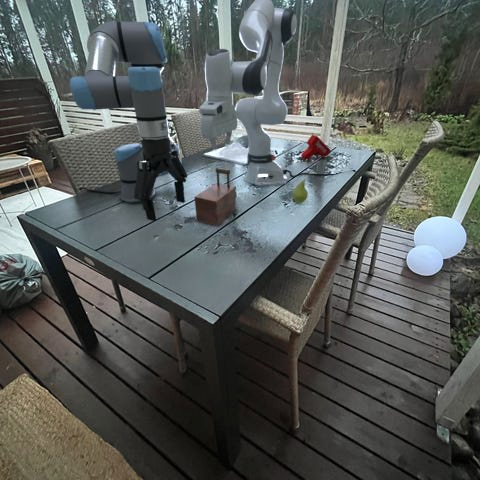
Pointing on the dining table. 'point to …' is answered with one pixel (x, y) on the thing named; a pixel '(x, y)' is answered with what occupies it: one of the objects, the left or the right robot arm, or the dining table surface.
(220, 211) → the chest
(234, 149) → the relief map
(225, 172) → the lid
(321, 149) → the toy gun
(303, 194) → the fruit
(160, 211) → the dining table surface
